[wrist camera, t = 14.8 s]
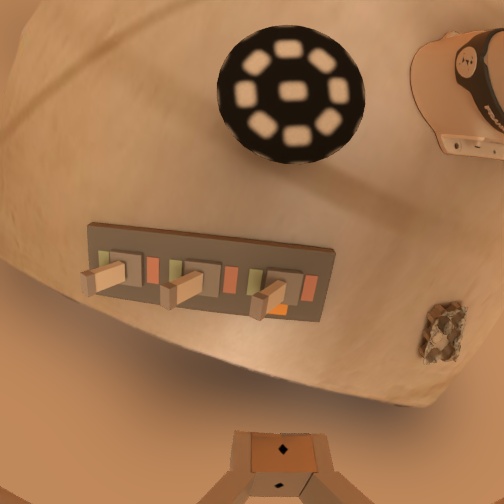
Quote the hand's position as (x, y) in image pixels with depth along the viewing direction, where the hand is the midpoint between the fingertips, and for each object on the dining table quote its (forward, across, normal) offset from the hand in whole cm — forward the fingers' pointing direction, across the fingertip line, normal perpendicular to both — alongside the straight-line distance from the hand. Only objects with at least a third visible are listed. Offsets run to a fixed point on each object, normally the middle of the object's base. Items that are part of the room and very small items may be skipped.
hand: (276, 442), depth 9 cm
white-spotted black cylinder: (+31, 0, -12) cm, 34 cm away
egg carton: (+32, -32, +14) cm, 47 cm away
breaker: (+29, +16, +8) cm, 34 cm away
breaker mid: (+29, +6, +8) cm, 30 cm away
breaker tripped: (+29, -4, +8) cm, 30 cm away
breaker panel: (+31, +6, +8) cm, 33 cm away
